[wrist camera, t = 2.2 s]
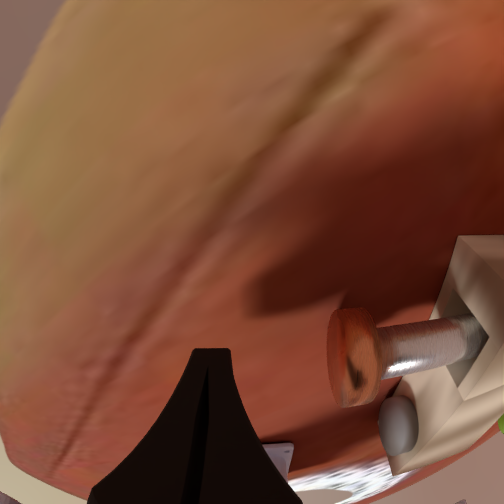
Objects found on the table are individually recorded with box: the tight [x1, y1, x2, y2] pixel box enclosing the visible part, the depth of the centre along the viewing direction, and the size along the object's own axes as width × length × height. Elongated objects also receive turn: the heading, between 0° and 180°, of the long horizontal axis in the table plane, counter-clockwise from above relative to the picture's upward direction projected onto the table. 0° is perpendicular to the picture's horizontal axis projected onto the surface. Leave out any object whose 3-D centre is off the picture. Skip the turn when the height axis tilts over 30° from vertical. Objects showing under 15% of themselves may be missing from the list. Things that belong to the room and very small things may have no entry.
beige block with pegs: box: [377, 235, 504, 476], centre depth 14 cm, size 16×12×5 cm
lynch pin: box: [327, 307, 489, 408], centre depth 11 cm, size 4×13×4 cm, turn 91°
